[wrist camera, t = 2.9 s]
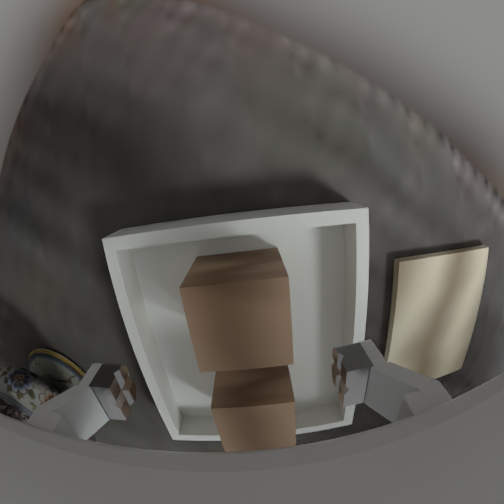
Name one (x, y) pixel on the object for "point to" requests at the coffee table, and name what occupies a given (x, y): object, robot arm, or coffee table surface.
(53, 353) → the apothecary jar
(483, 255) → the birch pad
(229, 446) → the plain block
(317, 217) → the parts tray
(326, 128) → the coffee table surface
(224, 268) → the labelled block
